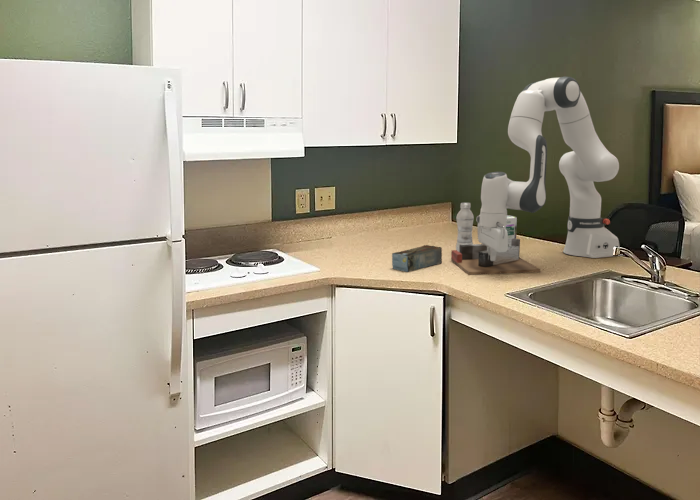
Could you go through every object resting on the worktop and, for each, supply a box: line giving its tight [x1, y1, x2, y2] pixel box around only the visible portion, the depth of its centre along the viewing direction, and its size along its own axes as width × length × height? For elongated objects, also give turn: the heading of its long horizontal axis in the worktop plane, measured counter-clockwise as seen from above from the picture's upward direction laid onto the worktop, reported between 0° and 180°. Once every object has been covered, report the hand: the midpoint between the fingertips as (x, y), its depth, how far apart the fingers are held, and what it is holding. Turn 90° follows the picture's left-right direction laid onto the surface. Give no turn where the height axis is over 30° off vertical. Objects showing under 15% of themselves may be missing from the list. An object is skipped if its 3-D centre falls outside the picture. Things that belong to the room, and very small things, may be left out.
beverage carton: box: [391, 244, 443, 273], centre depth 224 cm, size 8×19×7 cm, turn 132°
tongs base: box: [450, 238, 541, 276], centre depth 222 cm, size 25×22×8 cm
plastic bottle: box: [455, 202, 475, 252], centre depth 241 cm, size 6×7×20 cm
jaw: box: [478, 246, 520, 267], centre depth 222 cm, size 18×3×5 cm, turn 125°
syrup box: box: [504, 215, 518, 246], centre depth 242 cm, size 6×6×14 cm
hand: (491, 260), depth 215 cm, fingers closed
